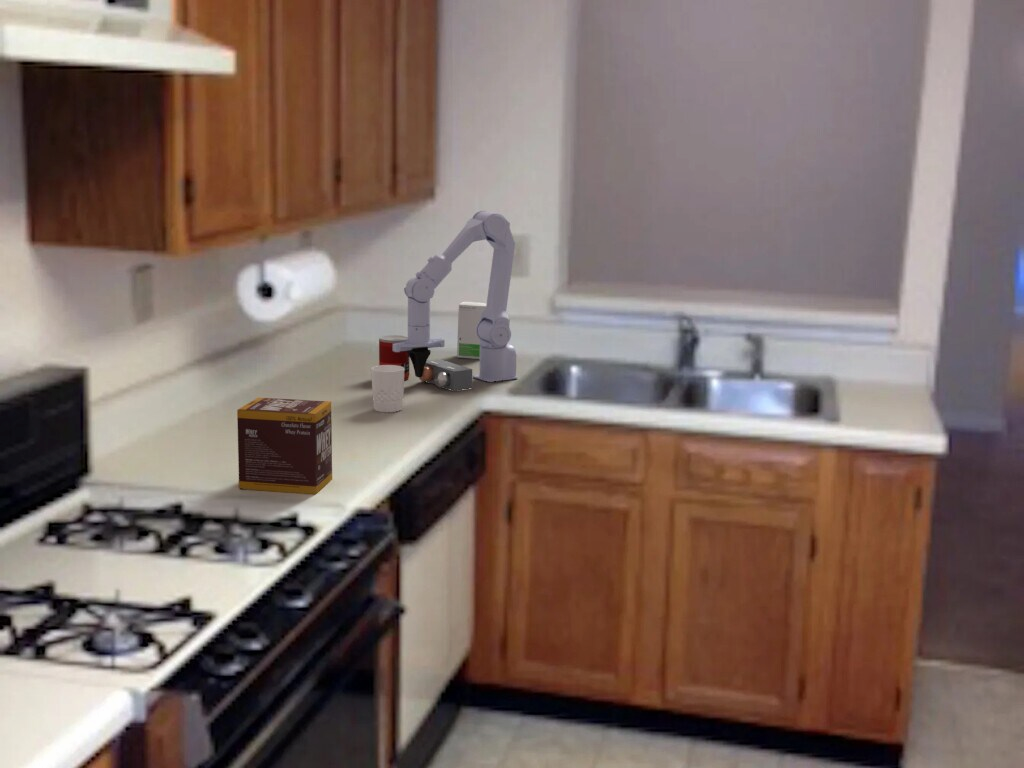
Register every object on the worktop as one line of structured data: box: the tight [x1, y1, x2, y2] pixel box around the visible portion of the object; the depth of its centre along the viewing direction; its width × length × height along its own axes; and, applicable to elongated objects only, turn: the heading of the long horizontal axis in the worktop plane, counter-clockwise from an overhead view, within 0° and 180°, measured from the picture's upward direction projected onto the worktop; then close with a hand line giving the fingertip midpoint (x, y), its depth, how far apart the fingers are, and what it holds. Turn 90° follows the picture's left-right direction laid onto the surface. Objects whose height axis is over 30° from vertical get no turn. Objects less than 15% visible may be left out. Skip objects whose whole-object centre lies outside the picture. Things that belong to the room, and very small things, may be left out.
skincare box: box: [456, 301, 487, 360], centre depth 365 cm, size 8×7×16 cm
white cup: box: [370, 365, 405, 413], centre depth 301 cm, size 8×8×10 cm
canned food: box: [378, 334, 410, 381], centre depth 335 cm, size 8×8×11 cm
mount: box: [424, 359, 473, 392], centre depth 329 cm, size 6×15×5 cm, turn 36°
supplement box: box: [236, 397, 333, 495], centre depth 240 cm, size 10×15×16 cm
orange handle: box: [418, 366, 434, 382], centre depth 331 cm, size 8×4×4 cm, turn 126°
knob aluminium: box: [435, 372, 451, 388], centre depth 325 cm, size 8×4×4 cm, turn 126°
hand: (418, 376), depth 328 cm, fingers closed
